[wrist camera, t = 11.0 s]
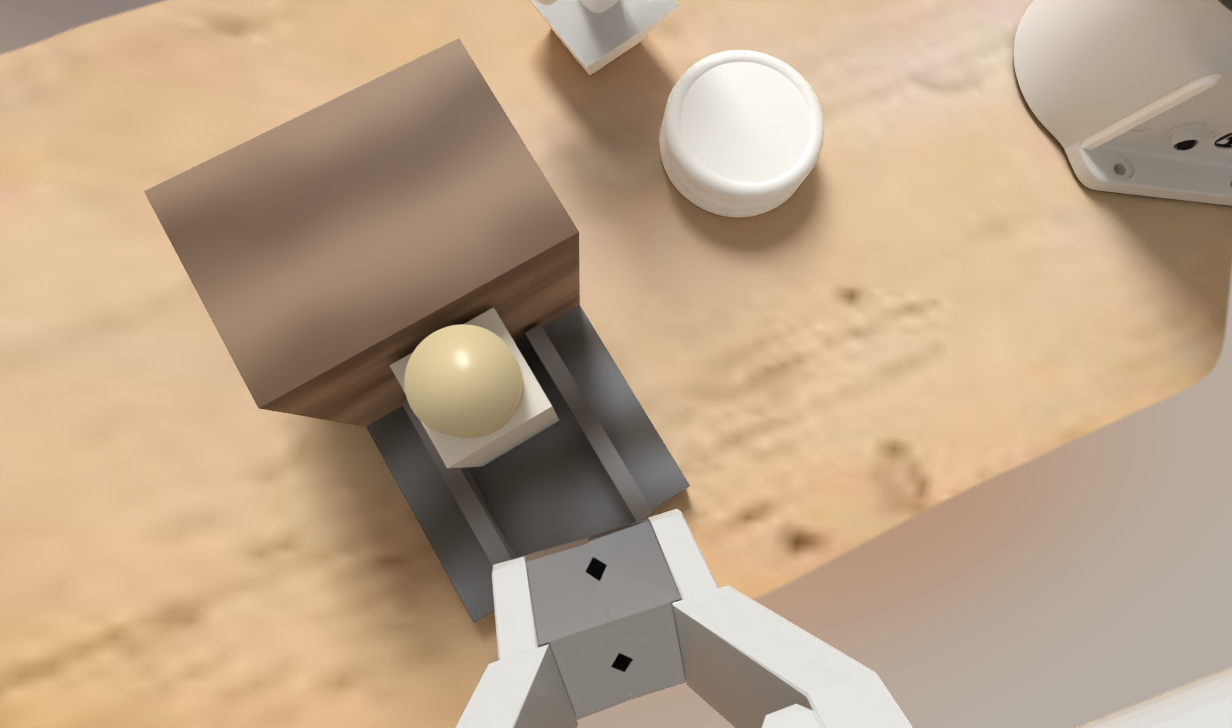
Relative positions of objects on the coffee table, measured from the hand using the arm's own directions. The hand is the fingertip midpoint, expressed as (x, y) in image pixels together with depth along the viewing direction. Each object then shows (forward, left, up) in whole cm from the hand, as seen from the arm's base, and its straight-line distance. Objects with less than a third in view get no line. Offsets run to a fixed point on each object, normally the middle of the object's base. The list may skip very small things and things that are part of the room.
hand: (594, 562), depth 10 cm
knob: (+6, -3, -25) cm, 26 cm away
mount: (+8, -5, -26) cm, 28 cm away
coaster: (-3, -24, -27) cm, 36 cm away
